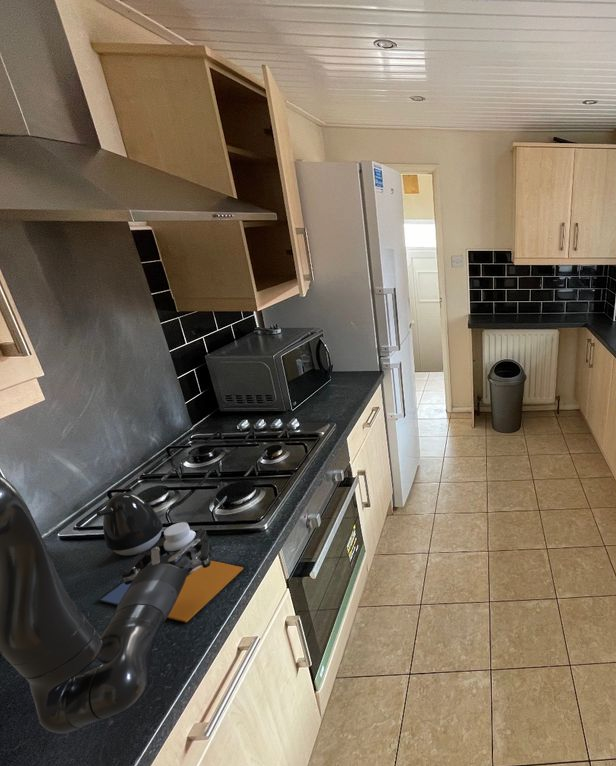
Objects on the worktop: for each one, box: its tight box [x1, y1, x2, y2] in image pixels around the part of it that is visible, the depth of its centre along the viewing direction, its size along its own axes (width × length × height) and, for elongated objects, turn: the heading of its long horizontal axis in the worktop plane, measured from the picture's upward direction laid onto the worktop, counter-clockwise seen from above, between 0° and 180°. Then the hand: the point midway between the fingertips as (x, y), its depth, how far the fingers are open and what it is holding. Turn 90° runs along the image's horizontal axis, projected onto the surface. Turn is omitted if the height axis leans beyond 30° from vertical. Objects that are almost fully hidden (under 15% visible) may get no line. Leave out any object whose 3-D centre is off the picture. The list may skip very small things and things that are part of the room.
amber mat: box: [167, 560, 244, 623], centre depth 89 cm, size 14×10×1 cm
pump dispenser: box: [95, 492, 163, 556], centre depth 98 cm, size 10×10×15 cm
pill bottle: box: [163, 521, 202, 575], centre depth 85 cm, size 5×5×10 cm
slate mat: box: [100, 554, 167, 606], centre depth 92 cm, size 14×10×1 cm
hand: (185, 535), depth 87 cm, fingers closed on pill bottle, 5 cm apart
